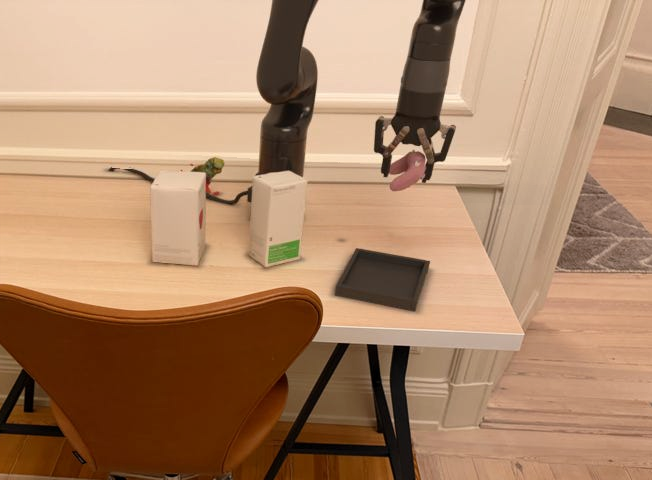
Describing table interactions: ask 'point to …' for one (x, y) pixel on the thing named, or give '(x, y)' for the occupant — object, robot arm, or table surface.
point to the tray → (383, 279)
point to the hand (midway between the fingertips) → (404, 178)
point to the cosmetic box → (277, 217)
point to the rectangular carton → (178, 217)
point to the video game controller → (408, 170)
